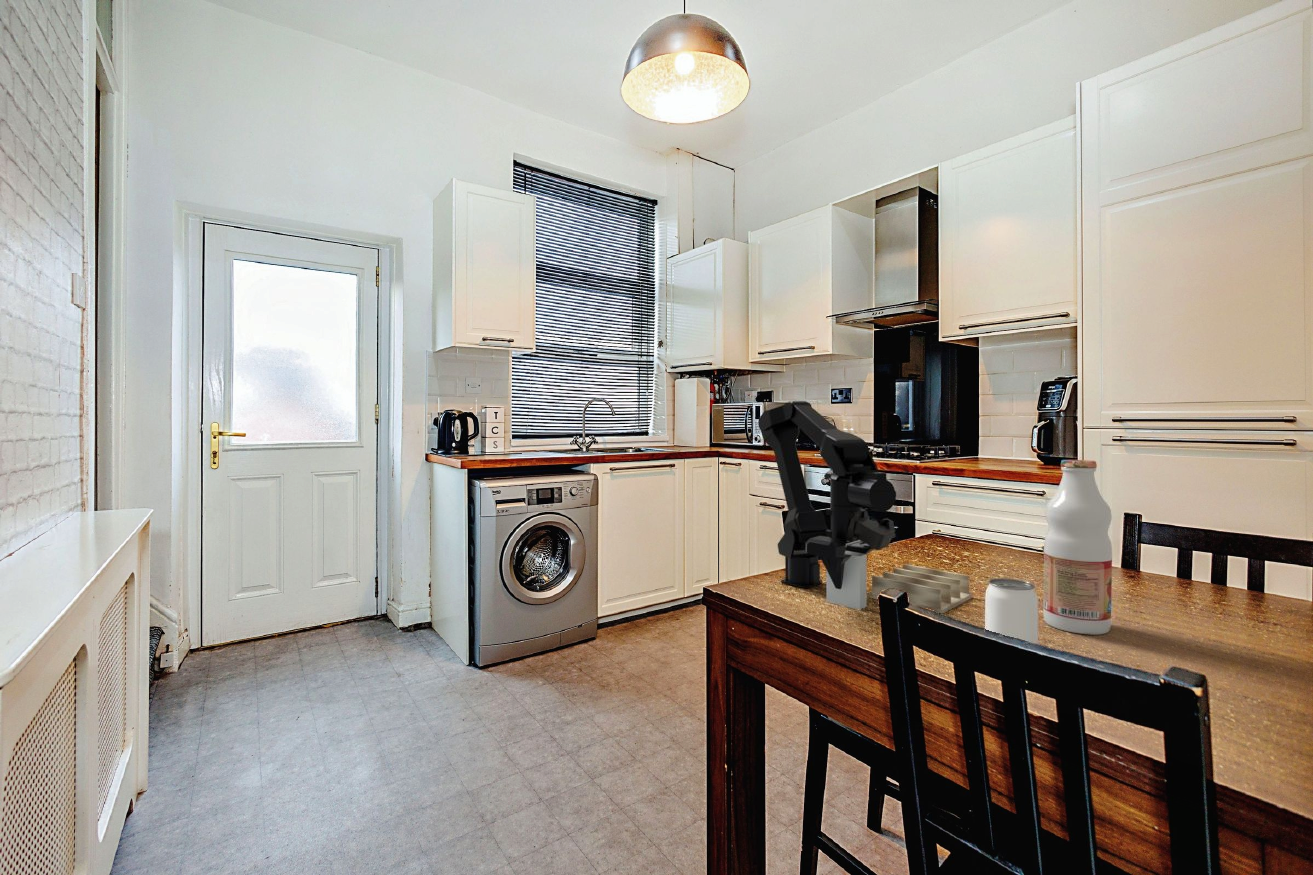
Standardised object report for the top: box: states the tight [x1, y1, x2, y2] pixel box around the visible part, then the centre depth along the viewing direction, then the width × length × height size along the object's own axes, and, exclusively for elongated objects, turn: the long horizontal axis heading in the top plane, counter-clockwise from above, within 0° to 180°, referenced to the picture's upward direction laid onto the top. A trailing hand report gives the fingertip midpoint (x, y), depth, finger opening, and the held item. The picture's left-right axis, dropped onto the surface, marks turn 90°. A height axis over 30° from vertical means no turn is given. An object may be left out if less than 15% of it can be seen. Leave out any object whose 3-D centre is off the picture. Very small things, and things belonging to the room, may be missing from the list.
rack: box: [868, 563, 974, 615], centre depth 118 cm, size 14×14×4 cm
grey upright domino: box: [825, 551, 868, 611], centre depth 114 cm, size 7×2×10 cm, turn 42°
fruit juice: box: [1042, 459, 1113, 636], centre depth 101 cm, size 9×9×28 cm
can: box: [984, 577, 1039, 645], centre depth 85 cm, size 6×6×12 cm
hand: (846, 585), depth 114 cm, fingers open, 5 cm apart
